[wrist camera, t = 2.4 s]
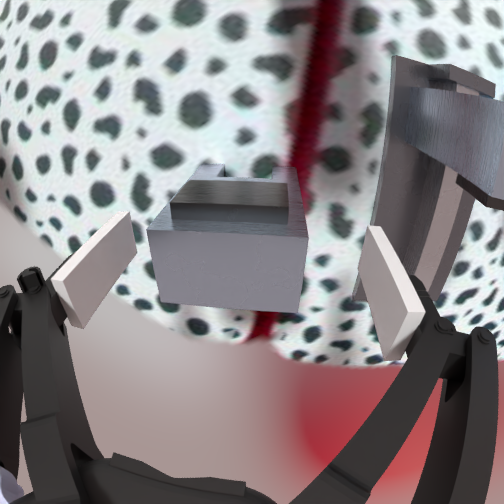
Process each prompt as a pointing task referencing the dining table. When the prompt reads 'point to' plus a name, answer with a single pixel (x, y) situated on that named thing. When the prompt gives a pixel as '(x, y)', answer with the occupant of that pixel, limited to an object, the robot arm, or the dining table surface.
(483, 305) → the dining table surface
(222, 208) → the stepped metal block
